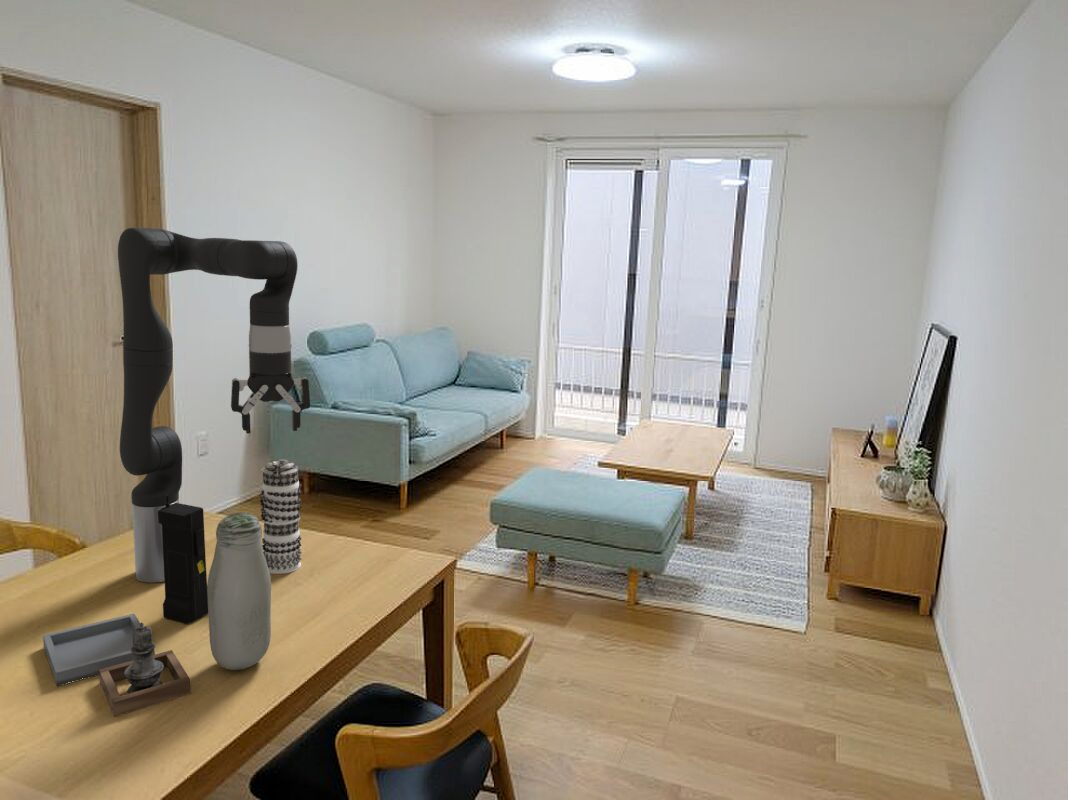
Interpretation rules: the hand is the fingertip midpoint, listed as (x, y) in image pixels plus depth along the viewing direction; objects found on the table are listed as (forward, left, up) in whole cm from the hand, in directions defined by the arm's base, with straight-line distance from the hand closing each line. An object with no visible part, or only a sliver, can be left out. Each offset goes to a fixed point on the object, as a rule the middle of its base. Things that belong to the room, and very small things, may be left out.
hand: (271, 431), depth 149 cm
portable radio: (-8, -14, -38) cm, 42 cm away
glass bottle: (+15, -12, -38) cm, 43 cm away
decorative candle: (-21, +10, -38) cm, 45 cm away
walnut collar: (+14, -27, -38) cm, 49 cm away
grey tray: (-2, -31, -38) cm, 49 cm away
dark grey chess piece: (+14, -27, -38) cm, 49 cm away
